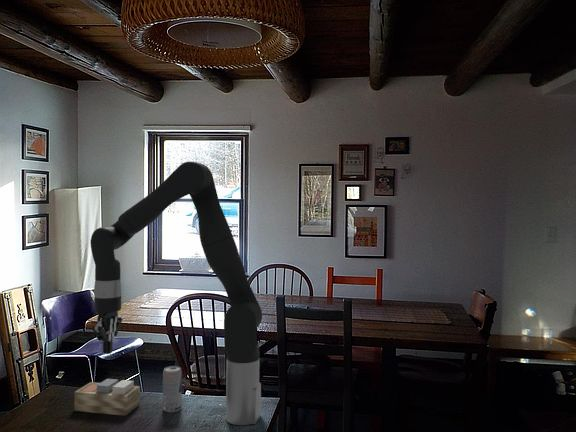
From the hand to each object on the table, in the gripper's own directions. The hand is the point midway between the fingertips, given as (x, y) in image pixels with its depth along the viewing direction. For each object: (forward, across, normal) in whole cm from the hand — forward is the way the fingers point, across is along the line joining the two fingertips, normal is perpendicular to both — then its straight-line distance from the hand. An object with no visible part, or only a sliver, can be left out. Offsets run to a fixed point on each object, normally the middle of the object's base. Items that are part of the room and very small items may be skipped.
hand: (107, 353), depth 148 cm
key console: (+16, 0, 0) cm, 16 cm away
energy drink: (+16, +3, -19) cm, 25 cm away
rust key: (+14, 0, +5) cm, 15 cm away
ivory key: (+12, 0, -5) cm, 13 cm away
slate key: (+12, 0, 0) cm, 12 cm away
